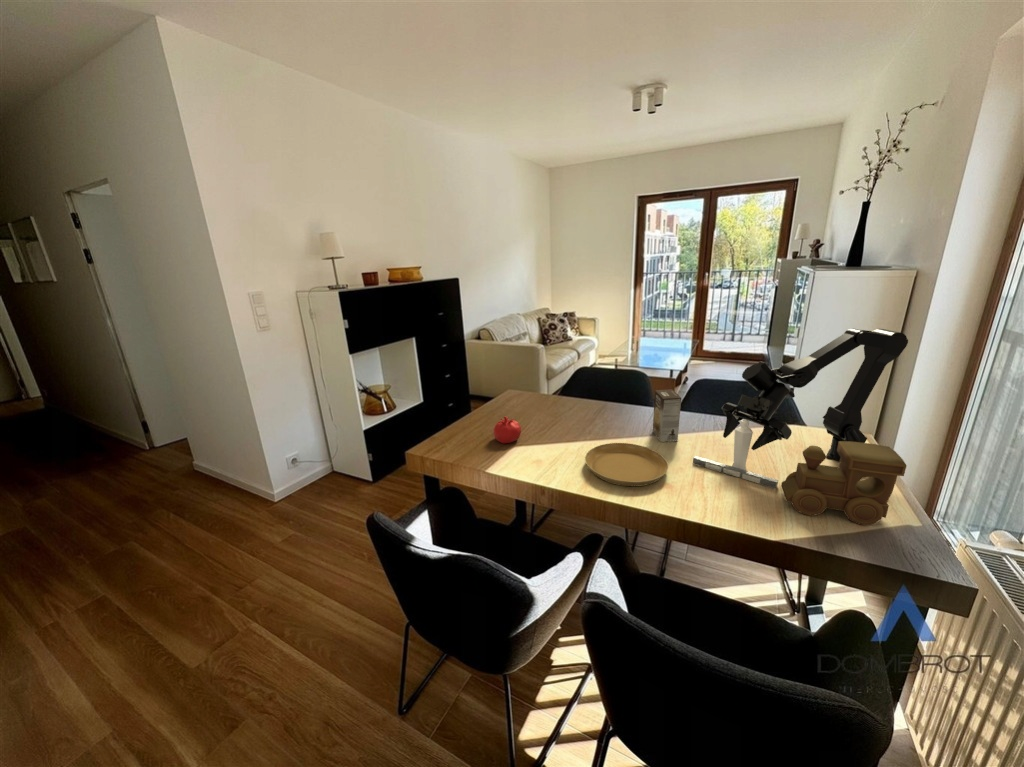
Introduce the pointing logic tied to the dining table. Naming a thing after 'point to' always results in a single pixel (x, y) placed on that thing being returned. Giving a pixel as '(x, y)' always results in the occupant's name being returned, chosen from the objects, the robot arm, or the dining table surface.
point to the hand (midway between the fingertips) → (737, 443)
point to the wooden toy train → (846, 481)
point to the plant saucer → (626, 464)
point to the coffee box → (666, 415)
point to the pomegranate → (507, 430)
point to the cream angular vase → (742, 444)
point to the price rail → (736, 472)
